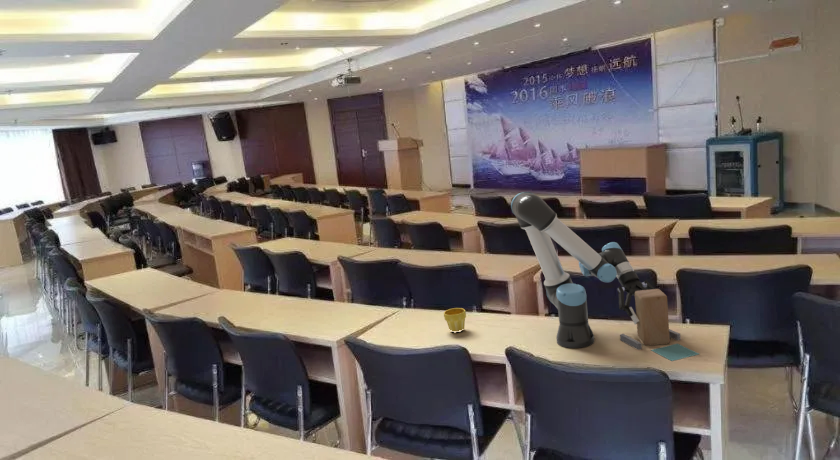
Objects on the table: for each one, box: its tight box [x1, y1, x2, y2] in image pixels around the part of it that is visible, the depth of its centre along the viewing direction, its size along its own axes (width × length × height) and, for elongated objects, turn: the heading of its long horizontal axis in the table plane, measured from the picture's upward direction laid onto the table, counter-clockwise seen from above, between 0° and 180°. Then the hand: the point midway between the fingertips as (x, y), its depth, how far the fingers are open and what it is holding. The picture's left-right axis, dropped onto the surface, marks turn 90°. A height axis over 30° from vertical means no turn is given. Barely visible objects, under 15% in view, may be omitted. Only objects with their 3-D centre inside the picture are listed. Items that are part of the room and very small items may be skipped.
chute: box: [619, 328, 682, 351], centre depth 222 cm, size 12×19×2 cm, turn 104°
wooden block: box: [634, 288, 671, 346], centre depth 219 cm, size 10×10×20 cm
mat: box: [650, 343, 700, 362], centre depth 208 cm, size 12×12×1 cm
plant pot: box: [443, 307, 467, 331], centre depth 261 cm, size 10×10×10 cm
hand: (651, 319), depth 222 cm, fingers open, 13 cm apart
